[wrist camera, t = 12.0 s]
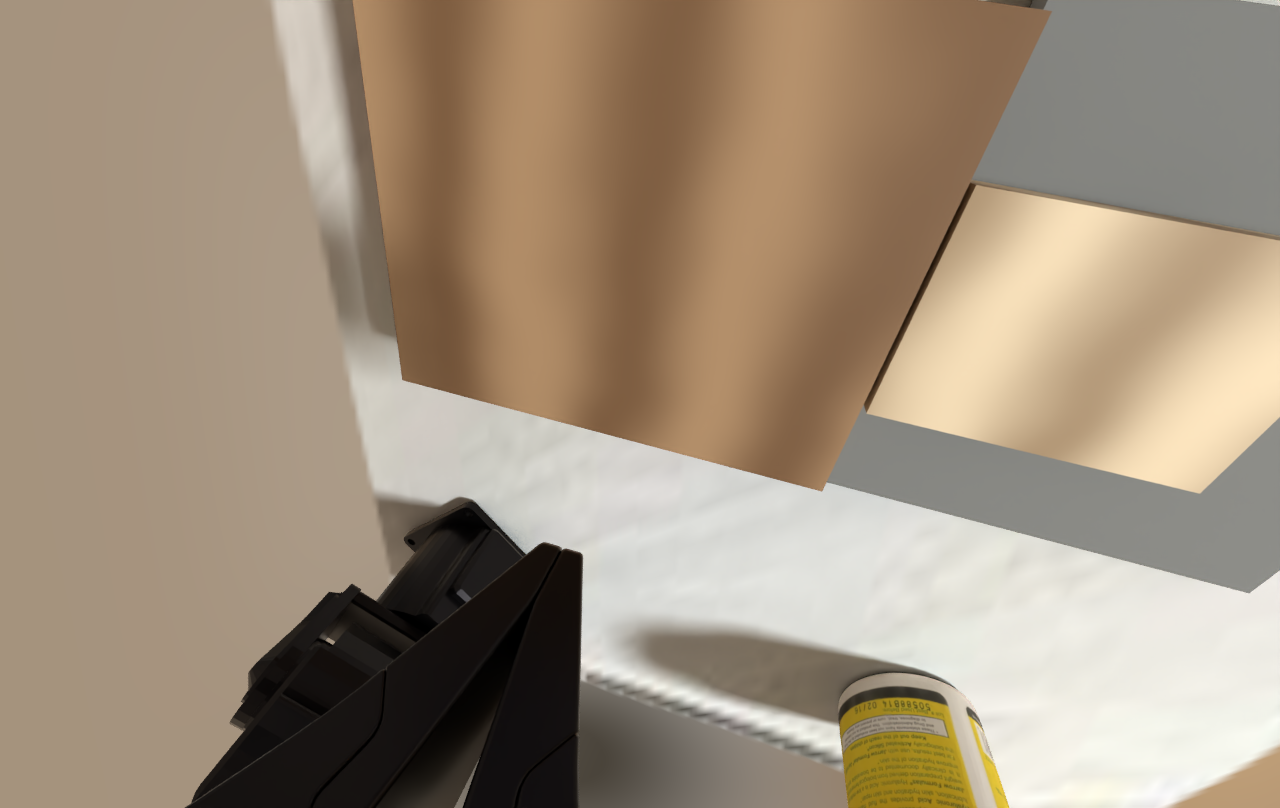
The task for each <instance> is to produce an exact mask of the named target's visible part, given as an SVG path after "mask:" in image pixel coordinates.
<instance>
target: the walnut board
mask: <svg viewBox="0 0 1280 808" xmlns="http://www.w3.org/2000/svg"><path fill="white" fill-rule="evenodd" d="M352 1H353V8H354V16H355V23H356V31H357V39H358V46H359V54H360V61H361V69H362V77H363V84H364V92H365V99H366V107H367V114H368V122H369V130H370V137H371V145H372V152H373V160H374V168H375V175H376V183H377V190H378V198H379V206H380V213H381V221H382V228H383V236H384V244H385V251H386V259H387V266H388V274H389V282H390V289H391V297H392V304H393V312H394V320H395V327H396V335H397V342H398V350H399V358H400V365H401V373H402V380H404V381H408V382H412V383H415V384H419V385H423V386H427V387H431V388H434V389H438V390H442V391H446V392H449V393H453V394H457V395H461V396H464V397H468V398H472V399H476V400H480V401H483V402H487V403H491V404H495V405H498V406H502V407H506V408H510V409H513V410H517V411H521V412H525V413H529V414H532V415H536V416H540V417H544V418H547V419H551V420H555V421H559V422H562V423H566V424H570V425H574V426H578V427H581V428H585V429H589V430H593V431H596V432H600V433H604V434H608V435H611V436H615V437H619V438H623V439H627V440H630V441H634V442H638V443H642V444H645V445H649V446H653V447H657V448H660V449H664V450H668V451H672V452H676V453H679V454H683V455H687V456H691V457H694V458H698V459H702V460H706V461H709V462H713V463H717V464H721V465H724V466H728V467H732V468H736V469H740V470H743V471H747V472H751V473H755V474H758V475H762V476H766V477H770V478H773V479H777V480H781V481H785V482H789V483H792V484H796V485H800V486H804V487H807V488H811V489H815V490H819V491H822V490H823V488H824V486H825V484H826V482H827V480H828V478H829V476H830V474H831V472H832V470H833V467H834V465H835V463H836V461H837V459H838V457H839V455H840V453H841V451H842V449H843V447H844V445H845V442H846V440H847V438H848V436H849V434H850V432H851V430H852V428H853V426H854V424H855V422H856V419H857V417H858V415H859V413H860V411H861V409H862V407H863V405H864V403H865V401H866V399H867V397H868V394H869V392H870V390H871V388H872V386H873V384H874V382H875V380H876V378H877V376H878V374H879V371H880V369H881V367H882V365H883V363H884V361H885V359H886V357H887V355H888V353H889V351H890V349H891V346H892V344H893V342H894V340H895V338H896V336H897V334H898V332H899V330H900V328H901V326H902V323H903V321H904V319H905V317H906V315H907V313H908V311H909V309H910V307H911V305H912V303H913V301H914V298H915V296H916V294H917V292H918V290H919V288H920V286H921V284H922V282H923V280H924V278H925V275H926V273H927V271H928V269H929V267H930V265H931V263H932V261H933V259H934V257H935V255H936V253H937V250H938V248H939V246H940V244H941V242H942V240H943V238H944V236H945V234H946V232H947V230H948V227H949V225H950V223H951V221H952V219H953V217H954V215H955V213H956V211H957V209H958V207H959V205H960V202H961V200H962V198H963V196H964V194H965V192H966V190H967V188H968V186H969V184H970V182H971V179H972V177H973V175H974V173H975V171H976V169H977V167H978V165H979V163H980V161H981V159H982V157H983V154H984V152H985V150H986V148H987V146H988V144H989V142H990V140H991V138H992V136H993V134H994V131H995V129H996V127H997V125H998V123H999V121H1000V119H1001V117H1002V115H1003V113H1004V111H1005V109H1006V106H1007V104H1008V102H1009V100H1010V98H1011V96H1012V94H1013V92H1014V90H1015V88H1016V86H1017V83H1018V81H1019V79H1020V77H1021V75H1022V73H1023V71H1024V69H1025V67H1026V65H1027V63H1028V61H1029V58H1030V56H1031V54H1032V52H1033V50H1034V48H1035V46H1036V44H1037V42H1038V40H1039V38H1040V35H1041V33H1042V31H1043V29H1044V27H1045V25H1046V23H1047V21H1048V19H1049V17H1050V15H1051V13H1052V11H1048V10H1041V9H1034V8H1028V7H1021V6H1014V5H1007V4H1001V3H994V2H987V1H981V0H352Z"/></svg>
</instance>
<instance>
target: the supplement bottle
mask: <svg viewBox="0 0 1280 808" xmlns="http://www.w3.org/2000/svg"><path fill="white" fill-rule="evenodd" d="M838 715H839V726H840V737H841V745H842V754H843V763H844V774H845V783H846V791H847V800H848V808H1009V805H1008V802H1007V799H1006V796H1005V793H1004V790H1003V787H1002V784H1001V781H1000V778H999V775H998V773H997V770H996V766H995V763H994V760H993V757H992V754H991V751H990V749H989V746H988V743H987V739H986V737H985V734H984V731H983V728H982V725H981V722H980V720H979V717H978V715H977V712H976V710H975V708H974V706H973V705H972V703H971V702H970V701H969V699H968V698H967V697H966V696H965V695H963V694H962V693H961V692H960V691H958V690H957V689H955V688H953V687H951V686H950V685H948V684H945V683H943V682H941V681H938V680H935V679H932V678H929V677H925V676H920V675H915V674H907V673H883V674H877V675H872V676H869V677H865V678H862V679H860V680H858V681H856V682H854V683H853V684H851V685H850V686H849V687H848V688H847V689H846V690H845V691H844V692H843V693H842V695H841V697H840V700H839V704H838Z"/></svg>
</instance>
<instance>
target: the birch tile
mask: <svg viewBox="0 0 1280 808" xmlns="http://www.w3.org/2000/svg"><path fill="white" fill-rule="evenodd" d="M864 407H865V411H866V414H870V415H874V416H879V417H883V418H887V419H891V420H895V421H899V422H904V423H908V424H912V425H916V426H920V427H924V428H929V429H933V430H937V431H941V432H945V433H949V434H954V435H958V436H962V437H966V438H970V439H974V440H978V441H983V442H987V443H991V444H995V445H999V446H1003V447H1008V448H1012V449H1016V450H1020V451H1024V452H1028V453H1033V454H1037V455H1041V456H1045V457H1049V458H1053V459H1058V460H1062V461H1066V462H1070V463H1074V464H1078V465H1082V466H1087V467H1091V468H1095V469H1099V470H1103V471H1107V472H1112V473H1116V474H1120V475H1124V476H1128V477H1132V478H1137V479H1141V480H1145V481H1149V482H1153V483H1157V484H1162V485H1166V486H1170V487H1174V488H1178V489H1182V490H1186V491H1191V492H1195V493H1199V494H1200V493H1201V492H1202V491H1203V490H1204V489H1205V488H1206V487H1207V486H1208V485H1210V484H1211V483H1212V482H1213V481H1214V480H1215V479H1216V478H1217V477H1218V476H1219V475H1220V474H1221V473H1222V472H1223V471H1224V470H1225V469H1226V468H1227V467H1228V466H1229V465H1230V464H1231V463H1232V462H1233V461H1235V460H1236V459H1237V458H1238V457H1239V456H1240V455H1241V454H1242V453H1243V452H1244V451H1245V450H1246V449H1247V448H1248V447H1249V446H1250V445H1251V444H1252V443H1253V442H1254V441H1255V440H1256V439H1257V438H1259V437H1260V436H1261V435H1262V434H1263V433H1264V432H1265V431H1266V430H1267V429H1268V428H1269V427H1270V426H1271V425H1272V424H1273V423H1274V422H1275V421H1276V420H1277V419H1278V418H1279V417H1280V236H1278V235H1273V234H1267V233H1262V232H1256V231H1251V230H1245V229H1240V228H1234V227H1229V226H1223V225H1218V224H1212V223H1207V222H1201V221H1196V220H1190V219H1185V218H1179V217H1174V216H1168V215H1163V214H1157V213H1152V212H1146V211H1141V210H1135V209H1130V208H1125V207H1119V206H1114V205H1108V204H1103V203H1097V202H1092V201H1086V200H1081V199H1075V198H1070V197H1064V196H1059V195H1053V194H1048V193H1042V192H1037V191H1031V190H1026V189H1020V188H1015V187H1009V186H1004V185H998V184H993V183H987V182H982V181H976V180H971V182H970V184H969V186H968V188H967V190H966V192H965V194H964V196H963V198H962V200H961V202H960V205H959V207H958V209H957V211H956V213H955V215H954V217H953V219H952V221H951V223H950V225H949V227H948V230H947V232H946V234H945V236H944V238H943V240H942V242H941V244H940V246H939V248H938V250H937V253H936V255H935V257H934V259H933V261H932V263H931V265H930V267H929V269H928V271H927V273H926V275H925V278H924V280H923V282H922V284H921V286H920V288H919V290H918V292H917V294H916V296H915V298H914V301H913V303H912V305H911V307H910V309H909V311H908V313H907V315H906V317H905V319H904V321H903V323H902V326H901V328H900V330H899V332H898V334H897V336H896V338H895V340H894V342H893V344H892V346H891V349H890V351H889V353H888V355H887V357H886V359H885V361H884V363H883V365H882V367H881V369H880V371H879V374H878V376H877V378H876V380H875V382H874V384H873V386H872V388H871V390H870V392H869V394H868V397H867V399H866V401H865V403H864Z"/></svg>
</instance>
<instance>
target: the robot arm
mask: <svg viewBox="0 0 1280 808" xmlns="http://www.w3.org/2000/svg"><path fill="white" fill-rule="evenodd" d="M404 541H405V543H406V544H407V545H408V546H409V547H410V548H411V549H412V550H413V551H414V552H415V553H414V555H413V556H412V557H411V558H410V559H409V561H408V562H407V563H406V564H405V566H404V567H403V568H402V569H401V571H400V572H399V573H398V574H397V576H396V577H395V578H394V579H393V581H392V582H391V583H390V584H389V586H388V587H387V588H386V589H385V590H384V592H383V593H382V594H381V596H380V597H379V598H378V599H377V600H376V601H375V600H373V599H372V598H370V597H368V596H367V595H365V594H364V593H362V592H360V591H361V589H360V588H358V587H357V586H355V585H353V584H351V585H350V586H349V587H348V588H347V589H346V590H345V591H344V592H343V593H342V592H341V593H333V592H329V593H328V594H327V595H326V596H325V597H324V598H323V599H322V600H321V601H320V602H319V604H318V605H317V606H316V607H315V608H314V609H313V610H312V611H311V612H310V613H309V614H308V615H307V617H305V618H304V620H302V622H301V623H299V624H298V625H297V626H296V627H295V628H294V629H293V630H292V631H291V632H290V633H289V634H288V635H286V636H285V637H284V638H283V639H282V640H281V641H280V642H279V643H278V644H277V645H275V647H273V648H272V649H271V650H270V651H269V652H268V653H267V654H265V655H264V656H263V657H262V658H261V659H260V660H259V661H258V662H257V663H256V664H255V665H254V666H253V668H252V669H251V670H250V671H249V673H248V692H247V693H246V695H245V696H244V697H243V699H242V701H241V702H242V703H243V704H242V705H241V707H240V708H239V709H238V711H237V712H236V713H235V715H234V716H233V718H232V719H231V721H230V724H231V725H233V726H235V727H237V728H239V729H240V730H243V731H244V732H243V733H242V734H241V736H240V737H239V738H238V739H237V741H236V742H235V743H234V744H233V745H232V746H231V748H230V749H229V750H228V751H227V753H226V754H225V755H224V756H223V757H222V759H221V760H220V761H219V762H218V764H217V765H216V766H215V767H214V769H213V770H212V771H211V772H210V773H209V775H208V776H207V777H206V778H205V779H204V781H203V782H202V783H201V784H200V786H199V787H198V789H197V790H196V792H195V795H194V797H193V800H192V803H191V804H190V805H188V806H187V807H185V808H454V807H455V805H456V803H457V801H458V799H459V797H460V795H461V793H462V791H463V789H464V787H465V785H466V783H467V781H468V779H469V777H470V775H471V773H472V771H473V769H474V768H475V765H476V764H477V762H478V760H479V762H478V765H477V768H476V770H475V773H474V776H473V779H472V782H471V785H470V788H469V791H468V793H467V796H466V799H465V802H464V805H463V808H579V736H578V734H579V714H580V671H581V625H582V580H583V555H582V554H581V553H580V552H576V551H573V550H570V549H563V550H562V548H561V547H559V546H556V545H553V544H550V543H546V542H543V543H541V544H539V545H538V546H537V547H535V548H534V549H533V550H531V551H530V552H529V553H528V554H526V555H525V554H524V553H523V552H522V551H521V550H520V549H519V548H518V547H517V546H516V545H515V544H514V543H513V542H512V541H511V540H510V539H509V538H508V537H507V536H506V535H505V534H504V533H503V532H502V531H501V530H500V529H499V528H498V527H497V526H496V525H495V524H494V522H493V521H492V520H491V519H490V518H489V517H488V516H487V515H486V514H485V513H484V512H483V511H482V510H481V509H480V508H479V507H478V506H477V505H476V504H474V503H470V502H468V503H465V504H463V505H461V506H459V507H457V508H455V509H453V510H451V511H449V512H447V513H445V514H443V515H441V516H439V517H437V518H436V519H434V520H432V521H430V522H428V523H426V524H424V525H422V526H420V527H418V528H416V529H414V530H412V531H410V532H409V533H408V534H407V535H406V536H405V537H404ZM327 638H330V639H332V640H334V641H335V643H334V644H333V645H332V644H330V643H328V642H327V641H325V640H326V639H327ZM479 758H480V759H479Z"/></svg>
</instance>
